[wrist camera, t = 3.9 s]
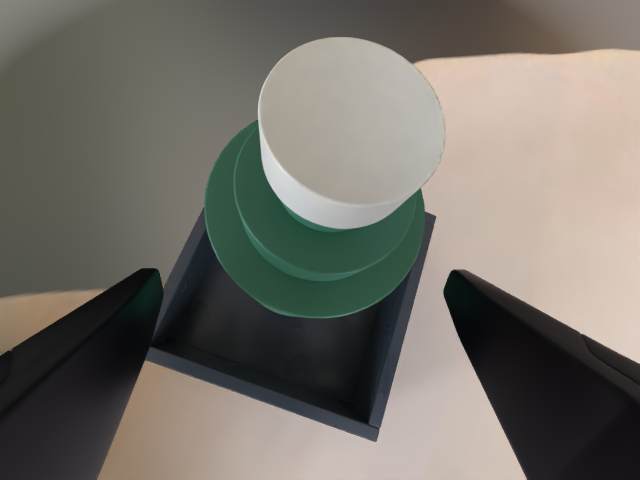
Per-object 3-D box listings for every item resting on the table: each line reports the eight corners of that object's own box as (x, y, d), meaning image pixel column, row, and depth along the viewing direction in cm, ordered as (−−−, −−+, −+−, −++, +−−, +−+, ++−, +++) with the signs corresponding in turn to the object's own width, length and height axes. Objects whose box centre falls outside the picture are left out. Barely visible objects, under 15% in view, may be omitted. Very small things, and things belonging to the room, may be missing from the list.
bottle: (324, 330, 18) (501, 389, 4) (228, 295, 18) (46, 219, 4) (355, 239, 20) (560, 46, 6) (267, 205, 20) (246, -91, 5)
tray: (354, 415, 18) (376, 443, 14) (162, 345, 17) (129, 354, 13) (407, 234, 21) (436, 215, 17) (245, 170, 20) (238, 136, 16)
